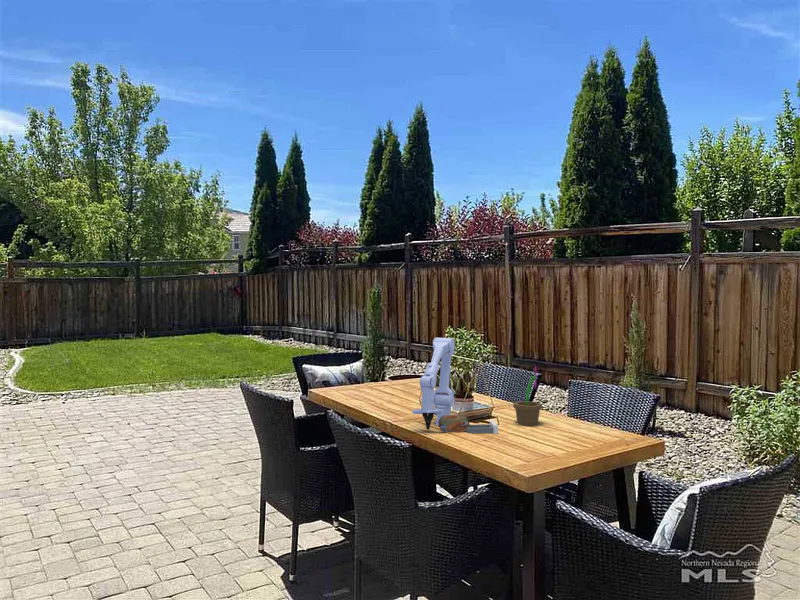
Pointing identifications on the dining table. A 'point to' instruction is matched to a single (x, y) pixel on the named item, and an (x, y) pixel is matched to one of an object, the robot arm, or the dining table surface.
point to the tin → (453, 423)
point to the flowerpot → (528, 409)
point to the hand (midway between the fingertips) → (427, 428)
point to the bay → (483, 428)
